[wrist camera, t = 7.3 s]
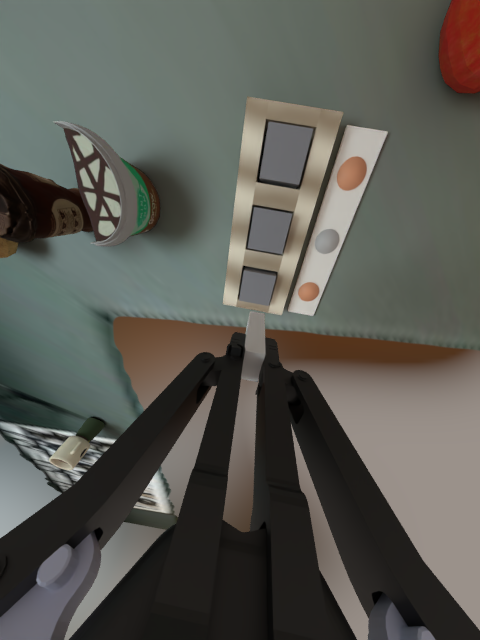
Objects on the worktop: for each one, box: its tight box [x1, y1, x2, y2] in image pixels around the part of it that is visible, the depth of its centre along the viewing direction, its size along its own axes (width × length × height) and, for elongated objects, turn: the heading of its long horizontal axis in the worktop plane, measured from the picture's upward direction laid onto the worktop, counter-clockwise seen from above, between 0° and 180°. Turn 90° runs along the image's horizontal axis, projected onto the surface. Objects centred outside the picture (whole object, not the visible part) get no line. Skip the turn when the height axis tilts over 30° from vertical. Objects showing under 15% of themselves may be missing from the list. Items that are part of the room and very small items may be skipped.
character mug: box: [49, 418, 105, 470], centre depth 57 cm, size 11×7×13 cm, turn 133°
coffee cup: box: [0, 164, 93, 243], centre depth 25 cm, size 9×8×13 cm
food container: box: [53, 121, 160, 246], centre depth 24 cm, size 12×6×10 cm, turn 175°
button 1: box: [239, 266, 276, 306], centre depth 30 cm, size 5×5×3 cm
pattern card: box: [288, 125, 388, 316], centre depth 28 cm, size 26×5×1 cm, turn 171°
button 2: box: [259, 122, 313, 189], centre depth 23 cm, size 5×5×3 cm
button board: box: [223, 97, 343, 315], centre depth 27 cm, size 26×11×3 cm, turn 171°
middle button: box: [248, 207, 292, 254], centre depth 26 cm, size 5×5×3 cm
